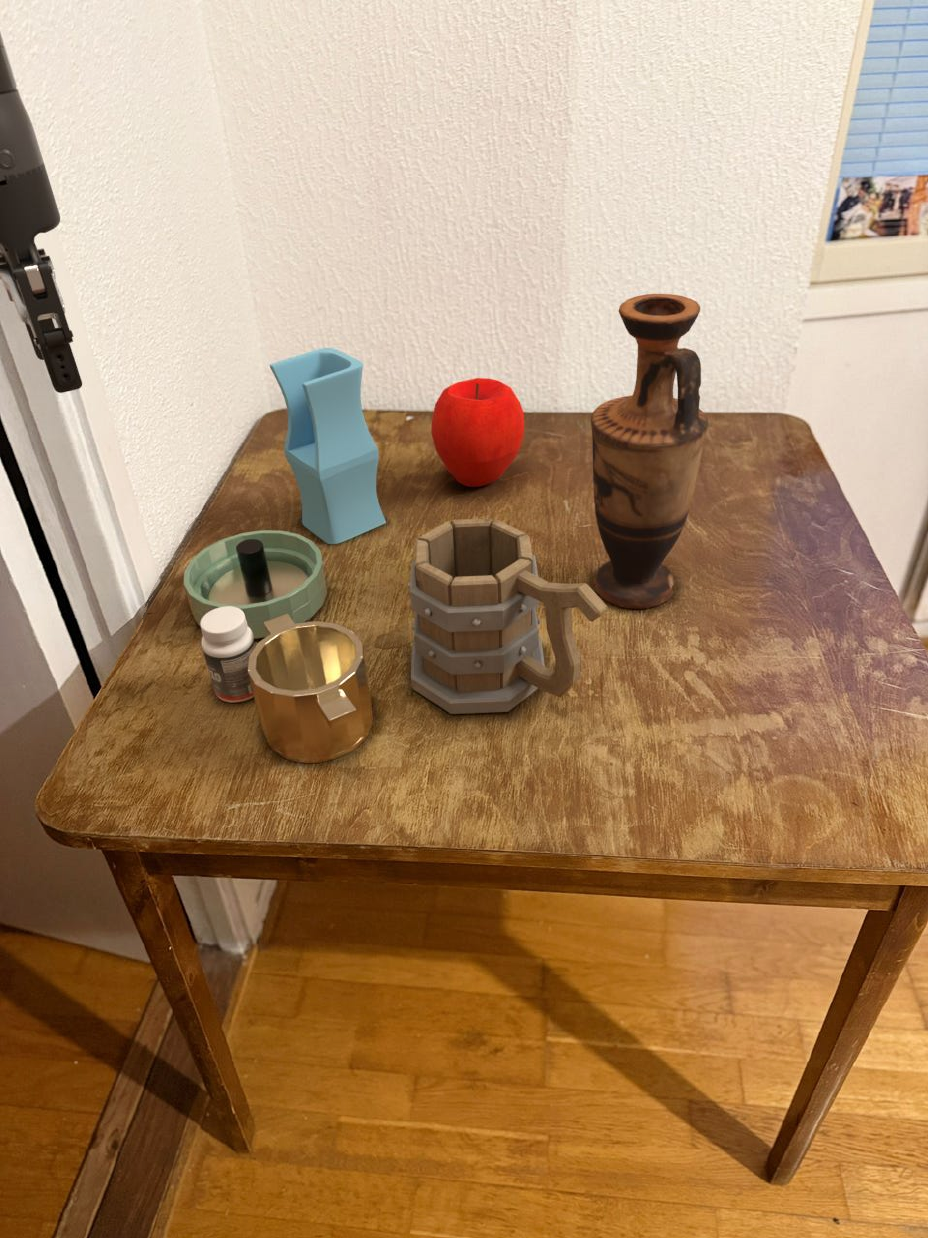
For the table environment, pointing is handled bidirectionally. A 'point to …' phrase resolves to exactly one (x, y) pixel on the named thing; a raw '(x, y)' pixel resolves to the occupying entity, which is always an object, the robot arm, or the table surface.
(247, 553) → the pot lid
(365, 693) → the pot
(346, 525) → the vase
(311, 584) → the bowl
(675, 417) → the vase
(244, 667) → the pill bottle
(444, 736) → the table surface
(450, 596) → the tankard
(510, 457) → the apple
